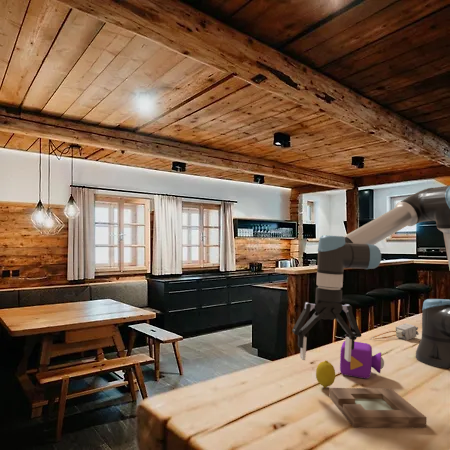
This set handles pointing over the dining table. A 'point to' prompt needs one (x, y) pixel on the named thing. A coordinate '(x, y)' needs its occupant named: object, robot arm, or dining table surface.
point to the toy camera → (360, 361)
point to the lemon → (325, 374)
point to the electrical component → (403, 332)
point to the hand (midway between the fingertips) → (325, 359)
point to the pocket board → (376, 408)
